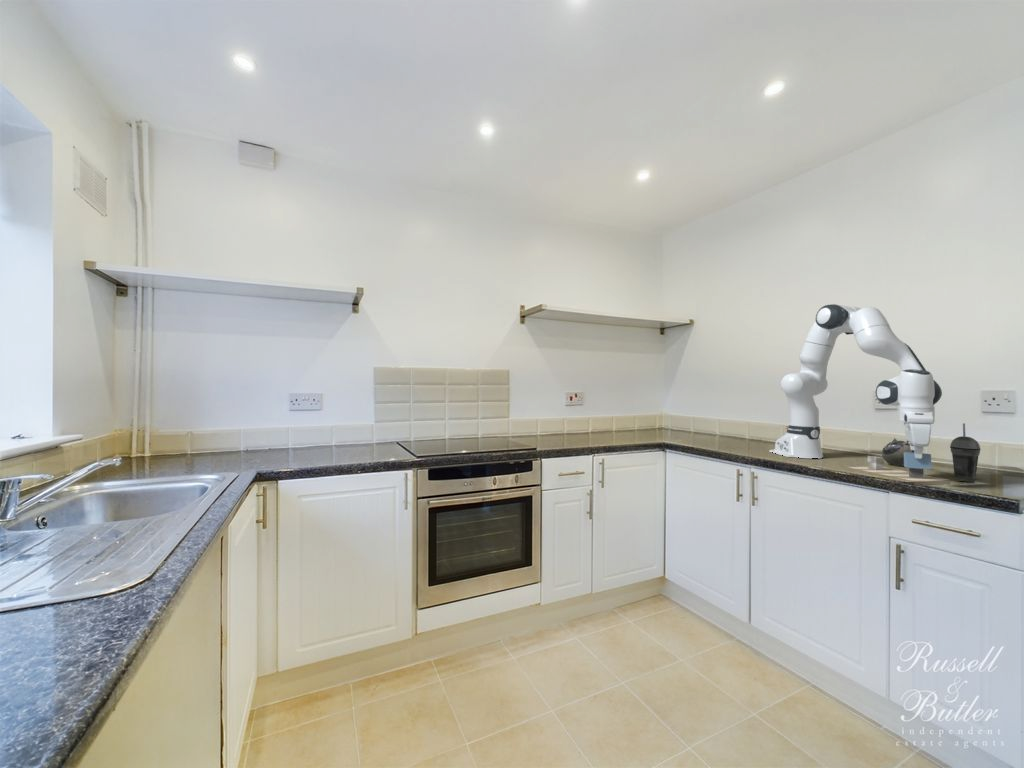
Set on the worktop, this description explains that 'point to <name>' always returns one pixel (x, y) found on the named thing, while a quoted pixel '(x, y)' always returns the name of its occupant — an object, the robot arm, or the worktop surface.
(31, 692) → the worktop surface
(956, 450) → the beverage cup
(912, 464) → the collar
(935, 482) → the assembly board
